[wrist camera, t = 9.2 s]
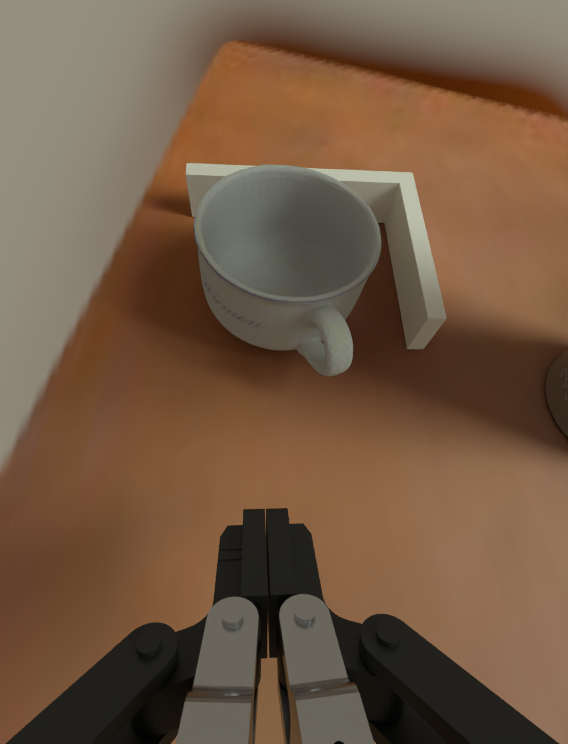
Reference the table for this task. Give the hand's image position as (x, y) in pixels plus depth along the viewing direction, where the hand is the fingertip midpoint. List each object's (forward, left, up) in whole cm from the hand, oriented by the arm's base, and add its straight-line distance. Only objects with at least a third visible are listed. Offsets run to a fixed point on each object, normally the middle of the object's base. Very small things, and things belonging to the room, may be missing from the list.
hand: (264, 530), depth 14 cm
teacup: (-2, -15, -11) cm, 19 cm away
